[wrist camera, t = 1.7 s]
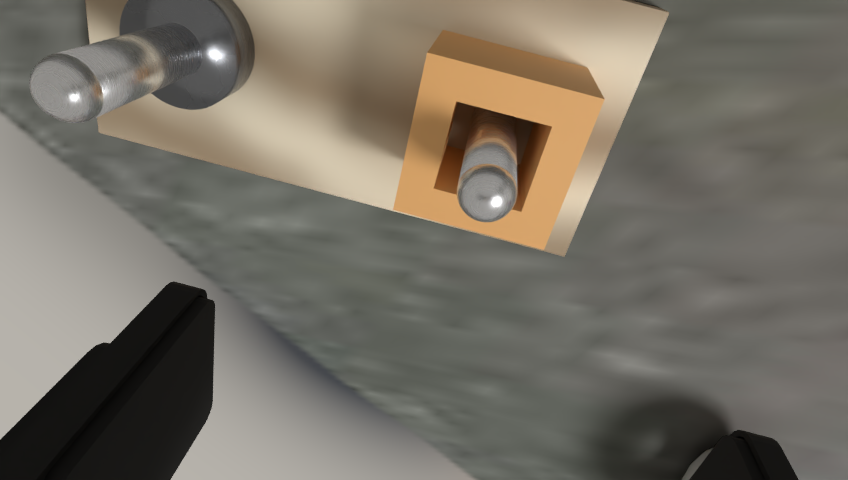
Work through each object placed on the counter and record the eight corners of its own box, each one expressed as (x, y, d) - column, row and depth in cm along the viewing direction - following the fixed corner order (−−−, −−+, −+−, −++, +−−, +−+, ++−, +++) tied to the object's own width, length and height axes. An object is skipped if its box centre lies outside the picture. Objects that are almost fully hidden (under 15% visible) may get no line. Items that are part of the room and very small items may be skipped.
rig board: (95, -140, 23) (70, -144, 22) (660, 8, 23) (669, 12, 22) (116, 123, 29) (98, 132, 28) (562, 242, 29) (564, 256, 28)
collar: (443, 29, 23) (426, 52, 19) (587, 67, 23) (604, 99, 19) (412, 164, 26) (393, 209, 22) (538, 197, 26) (543, 250, 22)
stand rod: (478, 92, 24) (463, 168, 16) (521, 103, 24) (526, 185, 16) (467, 134, 25) (447, 224, 17) (508, 144, 25) (506, 240, 17)
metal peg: (143, -34, 24) (-56, -15, 15) (258, -4, 23) (120, 32, 15) (149, 82, 26) (-17, 152, 18) (252, 110, 26) (132, 192, 18)
